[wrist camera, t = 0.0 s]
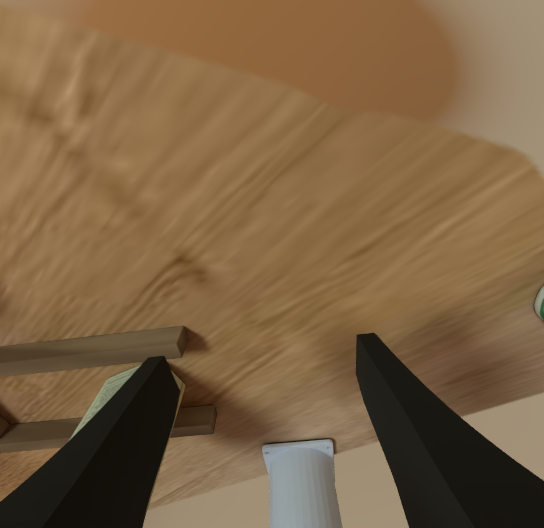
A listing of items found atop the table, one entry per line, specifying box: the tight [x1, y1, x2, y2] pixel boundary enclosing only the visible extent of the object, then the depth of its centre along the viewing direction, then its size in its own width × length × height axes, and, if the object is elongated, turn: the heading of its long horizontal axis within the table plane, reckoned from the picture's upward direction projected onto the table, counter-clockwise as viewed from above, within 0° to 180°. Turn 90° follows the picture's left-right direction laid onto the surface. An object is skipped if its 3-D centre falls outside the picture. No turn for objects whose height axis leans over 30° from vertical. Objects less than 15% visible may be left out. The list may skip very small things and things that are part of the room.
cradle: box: [0, 326, 217, 453], centre depth 25 cm, size 12×24×2 cm, turn 98°
